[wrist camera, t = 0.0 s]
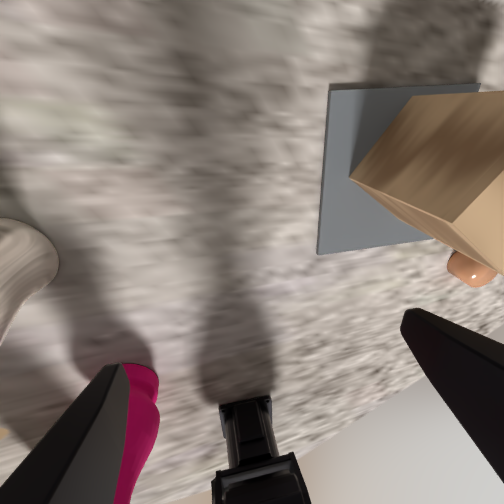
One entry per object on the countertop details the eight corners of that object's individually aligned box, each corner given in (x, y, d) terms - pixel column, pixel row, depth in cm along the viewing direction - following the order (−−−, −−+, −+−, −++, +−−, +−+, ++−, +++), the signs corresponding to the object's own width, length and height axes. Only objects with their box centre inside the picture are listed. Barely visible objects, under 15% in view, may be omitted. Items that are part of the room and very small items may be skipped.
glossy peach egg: (471, 271, 30) (492, 284, 28) (443, 276, 30) (462, 289, 28) (482, 243, 29) (506, 254, 26) (453, 247, 28) (475, 259, 26)
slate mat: (430, 237, 27) (433, 238, 26) (316, 253, 25) (318, 255, 25) (476, 83, 21) (480, 83, 20) (328, 90, 19) (331, 90, 18)
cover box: (398, 219, 25) (510, 279, 16) (348, 177, 22) (452, 223, 13) (459, 151, 23) (625, 179, 14) (412, 95, 20) (585, 86, 11)
